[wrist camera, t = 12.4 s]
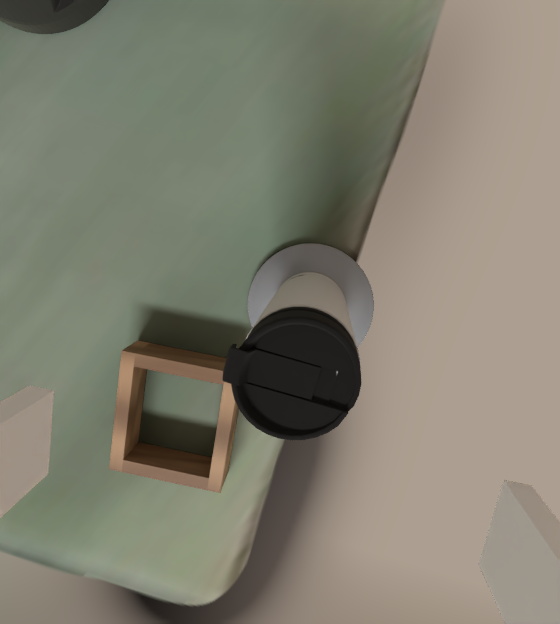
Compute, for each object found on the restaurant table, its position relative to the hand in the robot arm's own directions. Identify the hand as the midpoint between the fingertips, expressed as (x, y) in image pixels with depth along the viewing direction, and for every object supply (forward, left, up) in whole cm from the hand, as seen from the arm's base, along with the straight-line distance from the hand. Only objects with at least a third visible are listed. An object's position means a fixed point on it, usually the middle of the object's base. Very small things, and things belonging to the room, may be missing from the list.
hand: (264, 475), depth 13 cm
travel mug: (0, 0, -28) cm, 28 cm away
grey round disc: (0, 0, -29) cm, 29 cm away
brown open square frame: (+12, -10, -29) cm, 33 cm away
